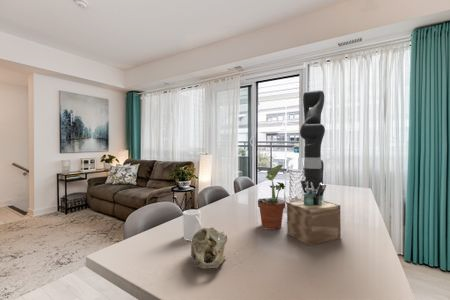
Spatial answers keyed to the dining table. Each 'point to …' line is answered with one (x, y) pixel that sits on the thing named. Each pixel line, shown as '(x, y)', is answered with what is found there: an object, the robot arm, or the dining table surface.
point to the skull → (208, 247)
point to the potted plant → (272, 204)
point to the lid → (310, 206)
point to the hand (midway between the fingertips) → (312, 203)
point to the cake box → (313, 224)
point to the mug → (191, 223)
